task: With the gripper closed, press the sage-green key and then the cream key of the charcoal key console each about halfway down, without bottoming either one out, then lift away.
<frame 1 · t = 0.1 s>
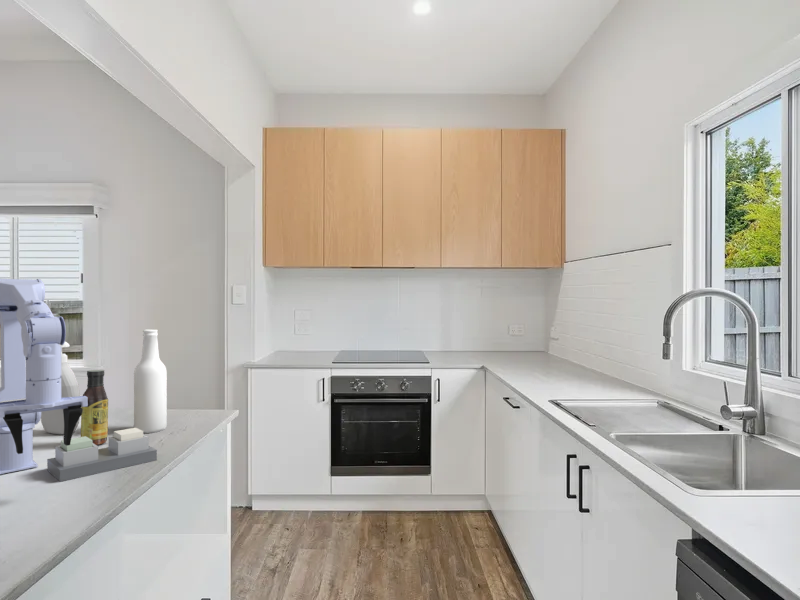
hand: (43, 448, 99), 10 cm above the counter, fingers open, 7 cm apart
sage key: (76, 443, 116), point 6 cm above the counter, slide at 0.0 cm
key console: (103, 464, 120), on the counter
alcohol: (150, 430, 151), on the counter
cream key: (128, 434, 124), point 6 cm above the counter, slide at 0.0 cm
soap bottle: (57, 433, 148), on the counter
sauce bottle: (94, 444, 137), on the counter
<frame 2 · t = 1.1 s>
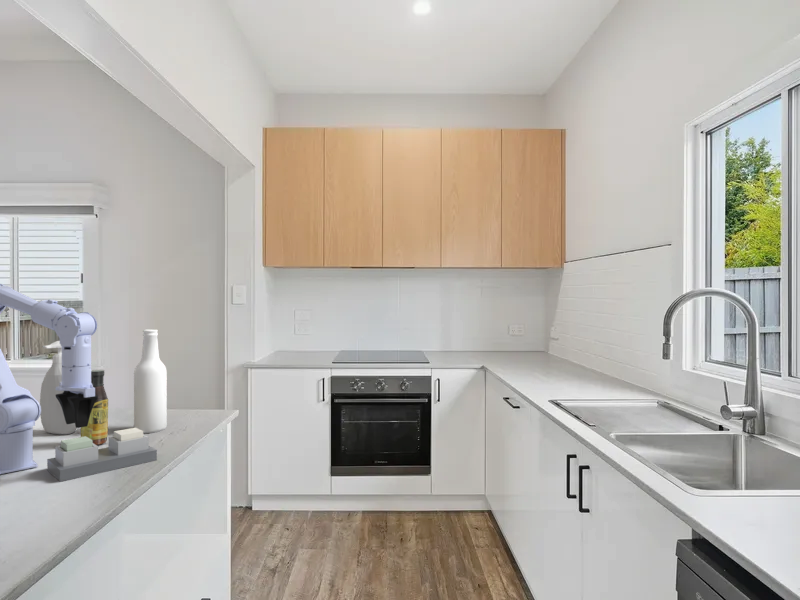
hand: (76, 425, 116), 10 cm above the counter, fingers open, 5 cm apart
nothing on the counter moved.
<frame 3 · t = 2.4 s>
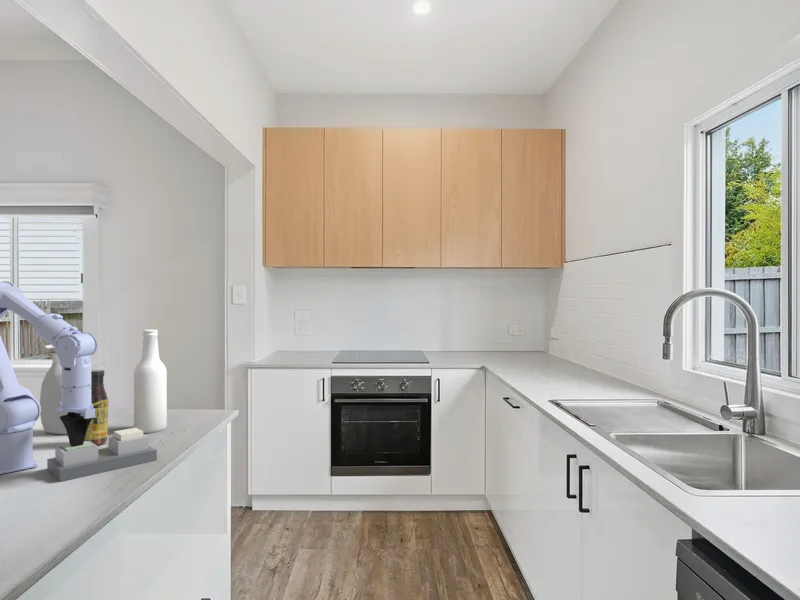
hand: (76, 445, 116), 6 cm above the counter, fingers closed, pressing on sage key
sage key: (76, 448, 116), point 5 cm above the counter, slide at 1.1 cm, touching gripper
everything else where it was.
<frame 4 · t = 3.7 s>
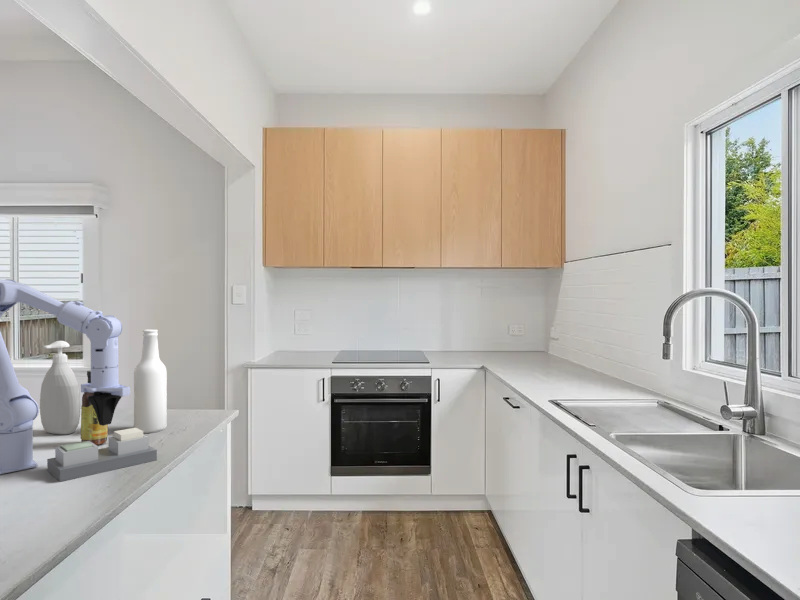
hand: (105, 424, 120), 10 cm above the counter, fingers closed
sage key: (76, 448, 116), point 5 cm above the counter, slide at 1.1 cm
everything else where it was.
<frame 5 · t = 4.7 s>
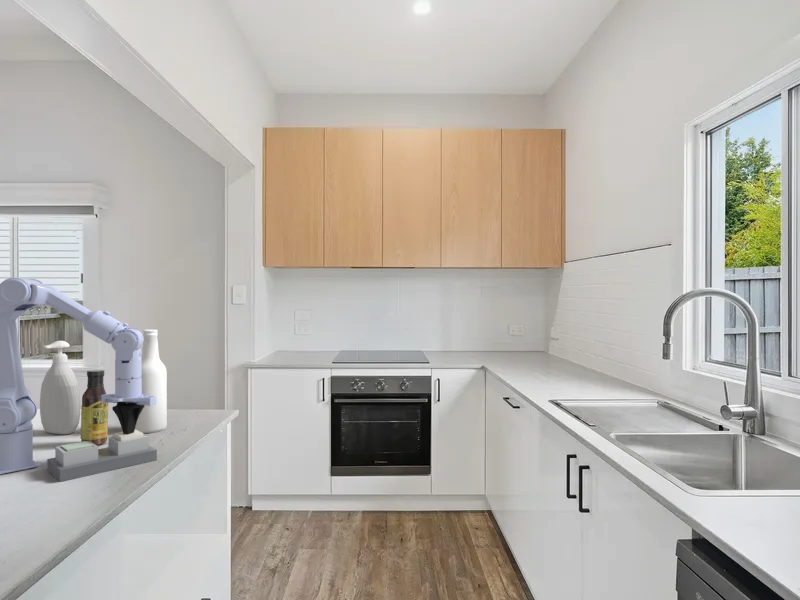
hand: (128, 433, 124), 6 cm above the counter, fingers closed, pressing on cream key
cream key: (128, 436, 124), point 6 cm above the counter, slide at 0.5 cm, touching gripper
everything else where it was.
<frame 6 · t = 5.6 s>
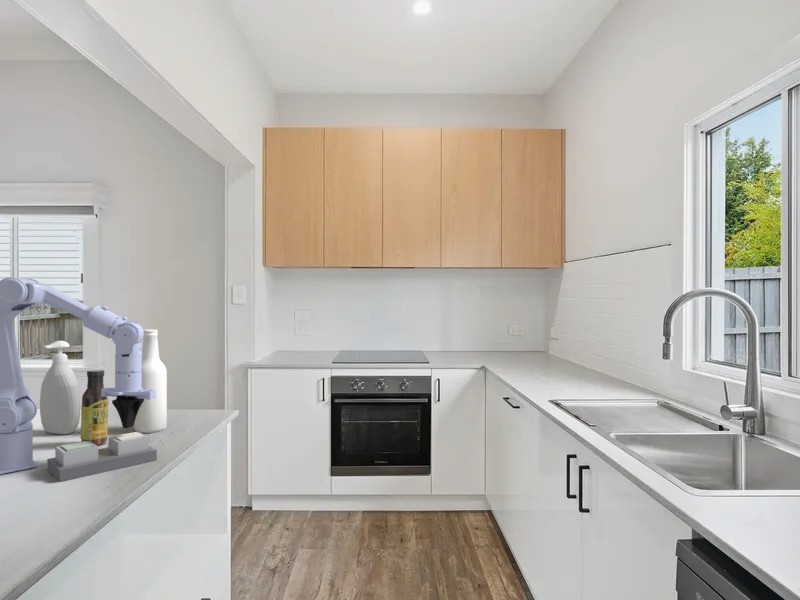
hand: (128, 427, 124), 8 cm above the counter, fingers closed
cream key: (128, 439, 124), point 5 cm above the counter, slide at 1.1 cm
everything else where it was.
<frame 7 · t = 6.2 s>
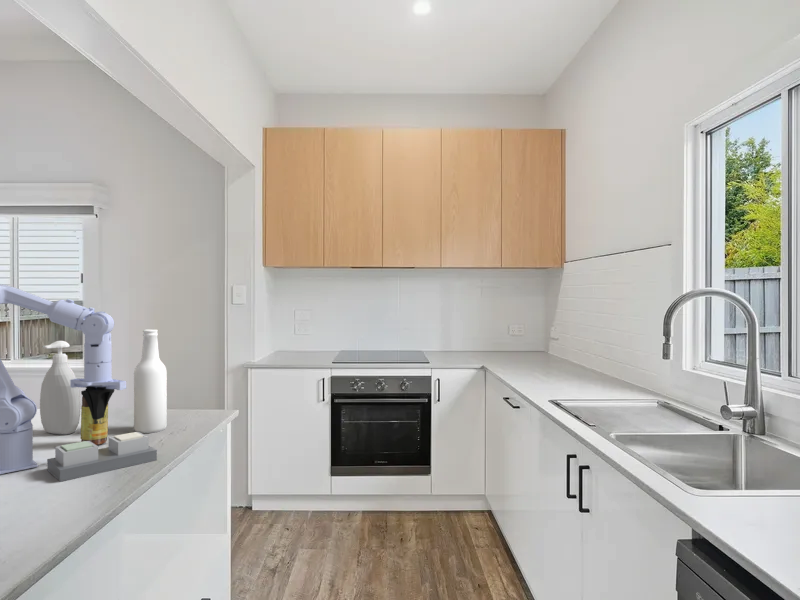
hand: (98, 418, 122), 10 cm above the counter, fingers closed
nothing on the counter moved.
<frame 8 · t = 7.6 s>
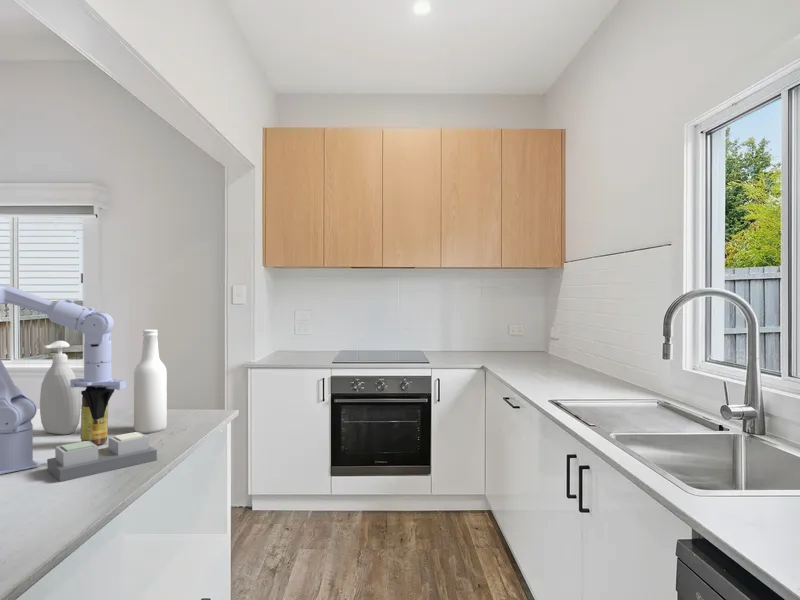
hand: (98, 418, 122), 10 cm above the counter, fingers closed
nothing on the counter moved.
at the end: sage key slide at 1.1 cm; cream key slide at 1.1 cm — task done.
